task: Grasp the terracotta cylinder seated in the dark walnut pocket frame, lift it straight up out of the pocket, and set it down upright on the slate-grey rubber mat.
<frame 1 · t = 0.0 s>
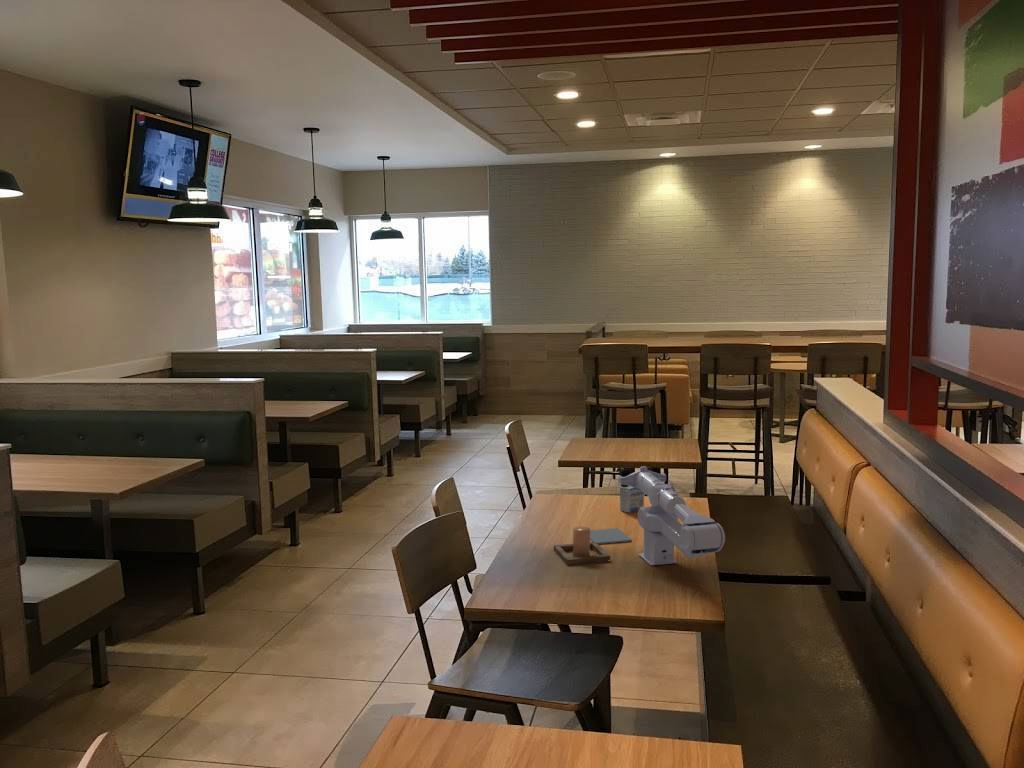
hand: (631, 470, 252), 22 cm above the table, tool horizontal, fingers open, 7 cm apart
pocket frame: (581, 555, 239), on the table
rubber mat: (606, 537, 256), on the table
medicine box: (631, 510, 285), on the table
terracotta cylinder: (581, 542, 239), in the pocket frame
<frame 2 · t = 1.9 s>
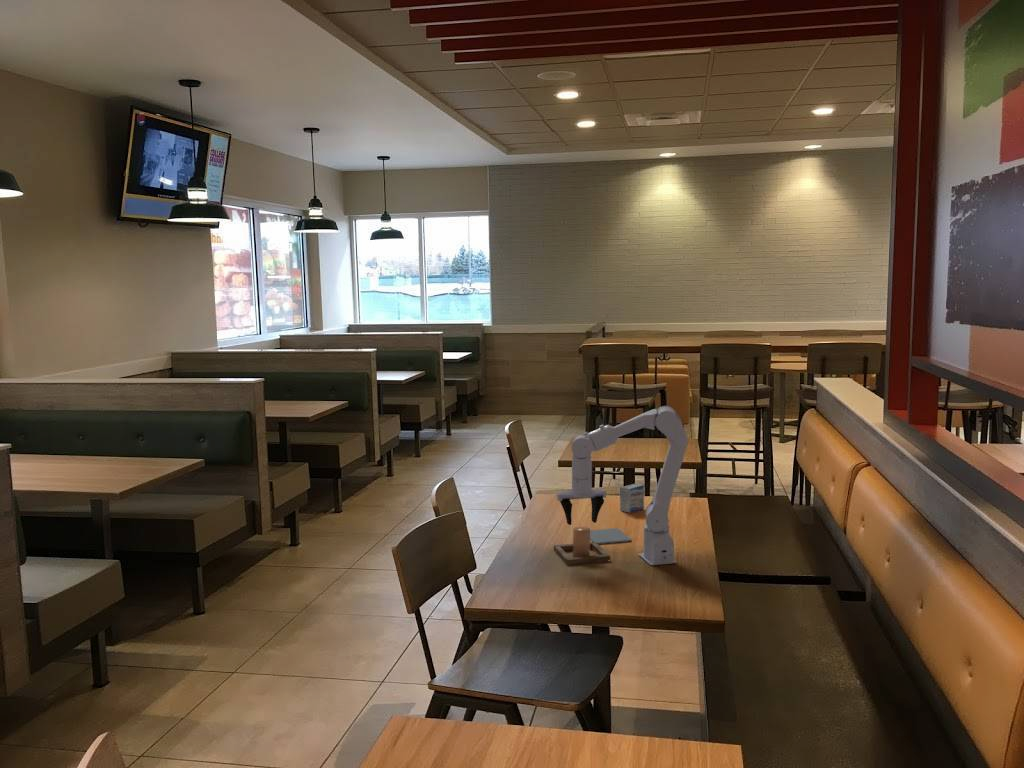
hand: (581, 522, 238), 10 cm above the table, tool pointing down, fingers open, 7 cm apart
nothing on the table moved.
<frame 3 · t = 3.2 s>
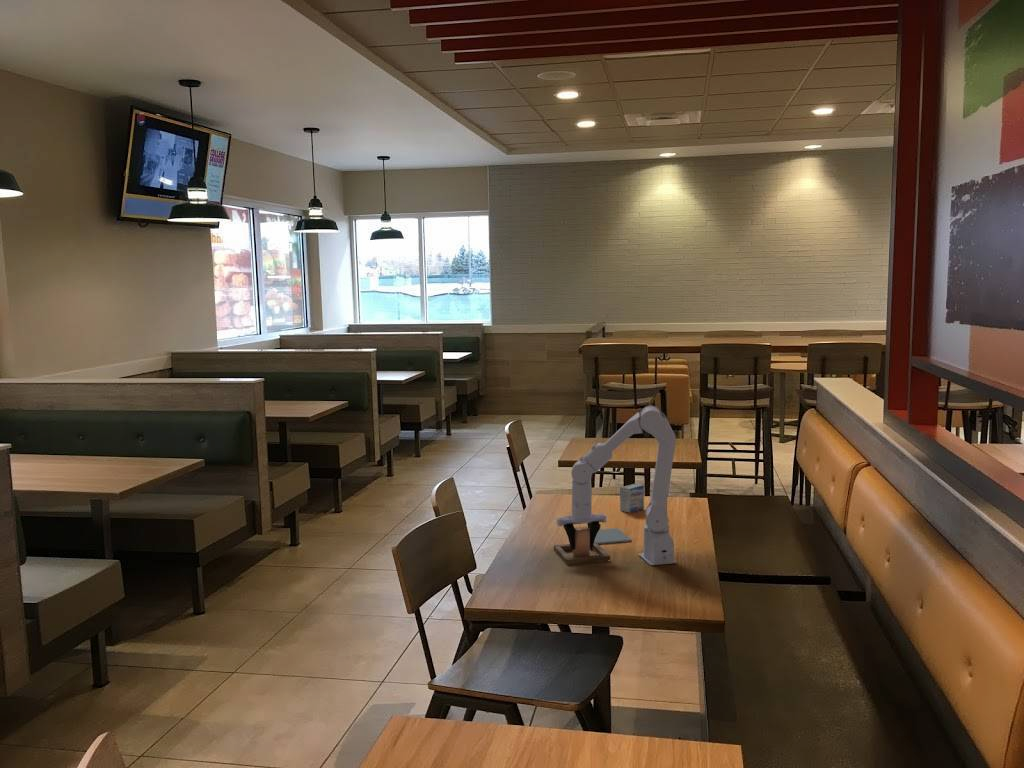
hand: (581, 547, 239), 2 cm above the table, tool pointing down, fingers closed on terracotta cylinder, 5 cm apart
terracotta cylinder: (581, 542, 239), in the pocket frame, touching gripper
everything else where it was.
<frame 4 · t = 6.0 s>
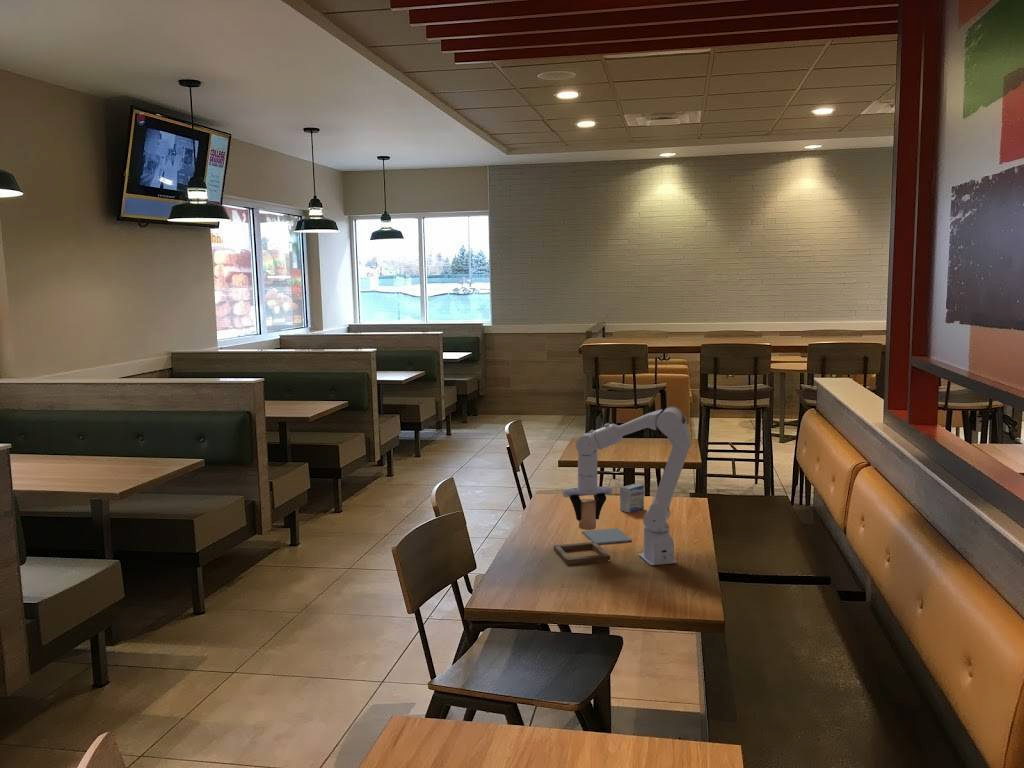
hand: (587, 519, 241), 10 cm above the table, tool pointing down, fingers closed on terracotta cylinder, 5 cm apart
terracotta cylinder: (587, 514, 241), point 11 cm above the table, touching gripper
everything else where it was.
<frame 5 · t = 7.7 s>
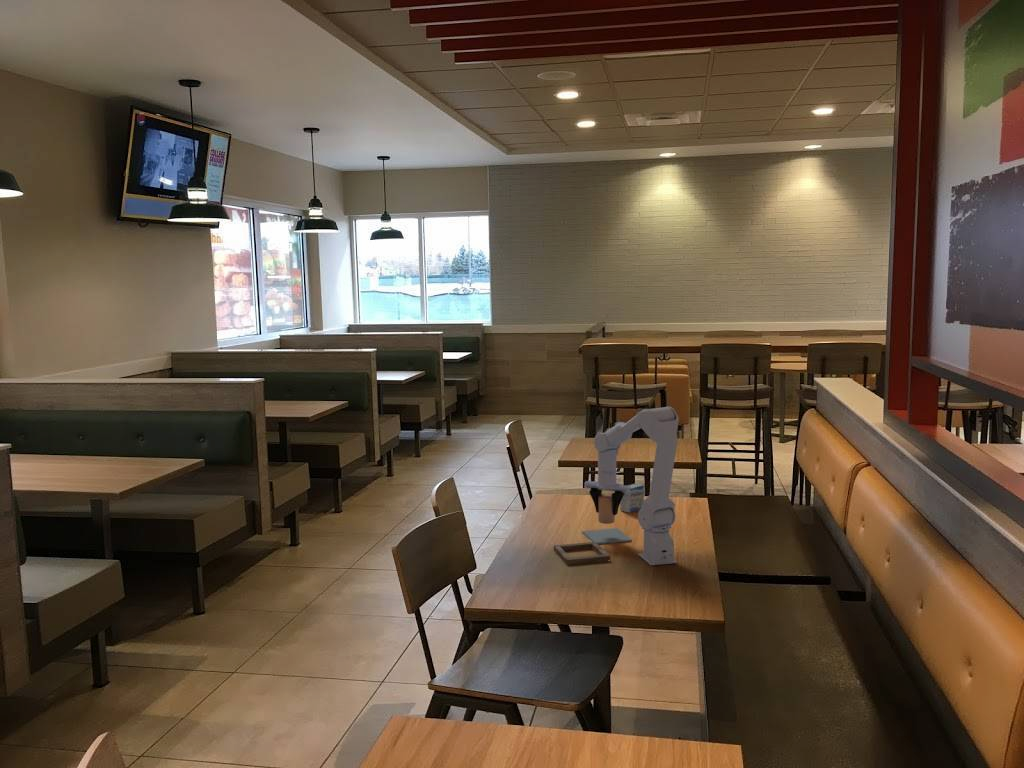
hand: (606, 513, 255), 8 cm above the table, tool pointing down, fingers closed on terracotta cylinder, 5 cm apart
terracotta cylinder: (606, 508, 254), point 9 cm above the table, touching gripper
everything else where it was.
when the fingers open (4 cm above the table, at t = 9.0 s): terracotta cylinder stays where it is, resting on rubber mat.
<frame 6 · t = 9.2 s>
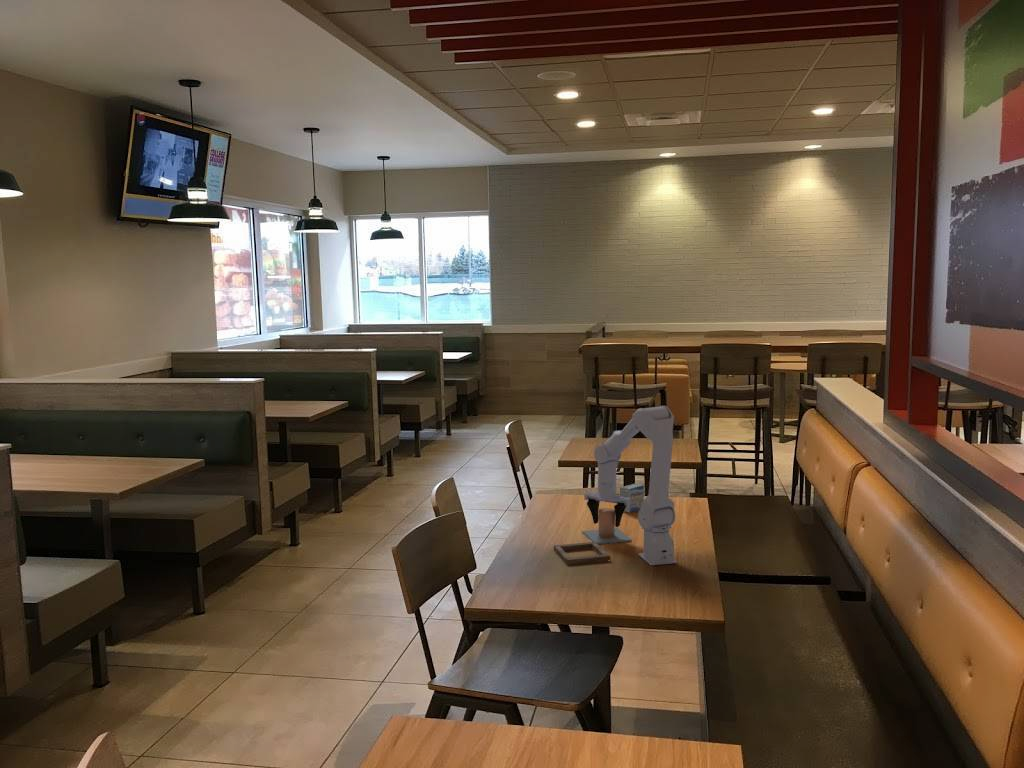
hand: (606, 524, 255), 4 cm above the table, tool pointing down, fingers open, 7 cm apart
terracotta cylinder: (606, 522, 255), on the rubber mat, point 5 cm above the table
everything else where it was.
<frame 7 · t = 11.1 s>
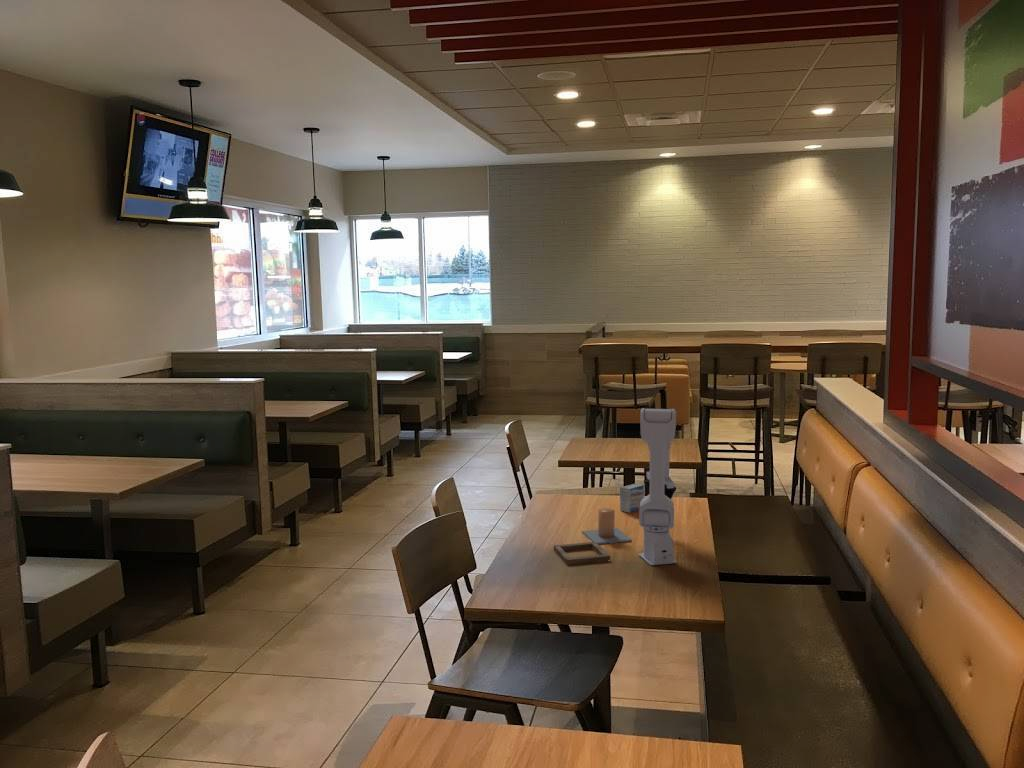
hand: (659, 505, 257), 10 cm above the table, tool pointing down, fingers open, 7 cm apart
nothing on the table moved.
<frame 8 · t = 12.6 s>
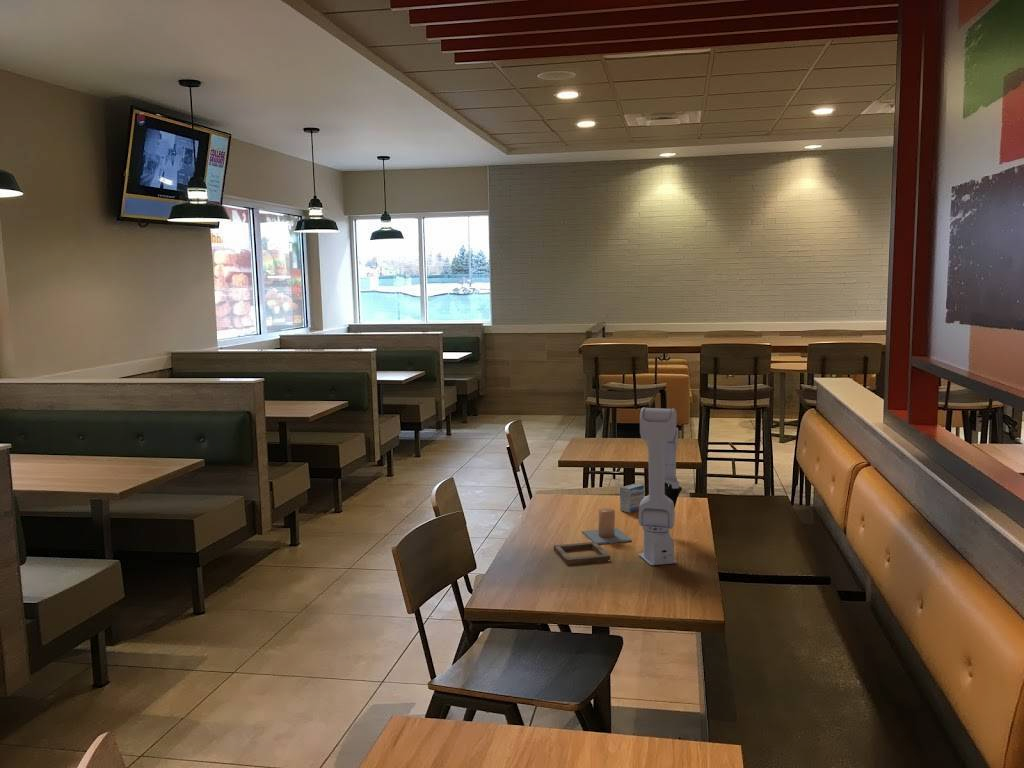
hand: (666, 505, 257), 9 cm above the table, tool pointing down, fingers open, 7 cm apart
nothing on the table moved.
at the end: terracotta cylinder inside the target area on the rubber mat (0.1 cm from its centre), point 4.6 cm above the rubber mat's base; terracotta cylinder tilted 0°; the gripper is holding nothing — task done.
